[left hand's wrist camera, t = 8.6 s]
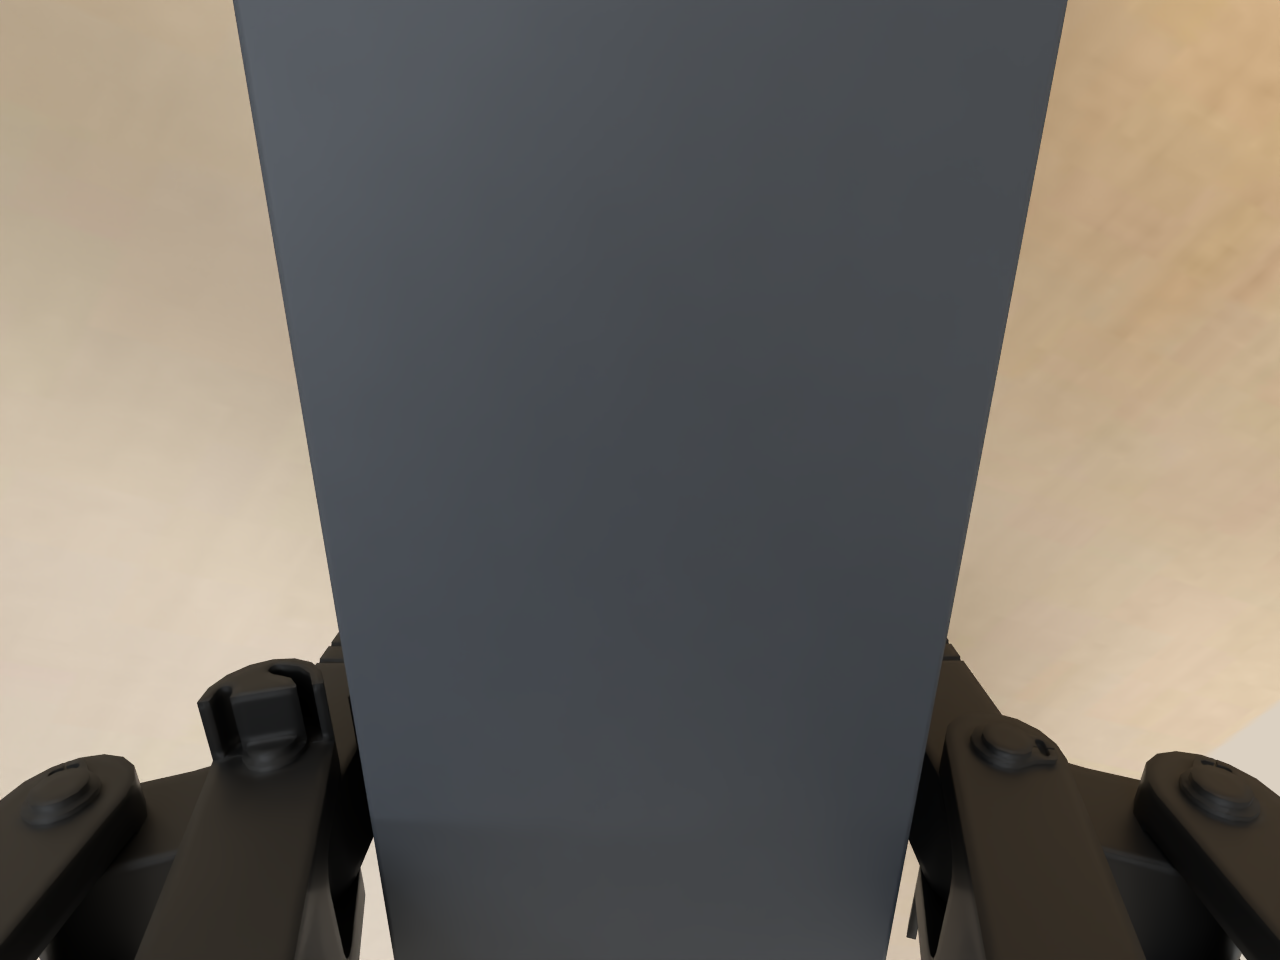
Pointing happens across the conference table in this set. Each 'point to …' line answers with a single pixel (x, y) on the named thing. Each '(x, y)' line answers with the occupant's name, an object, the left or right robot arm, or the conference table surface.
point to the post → (645, 438)
